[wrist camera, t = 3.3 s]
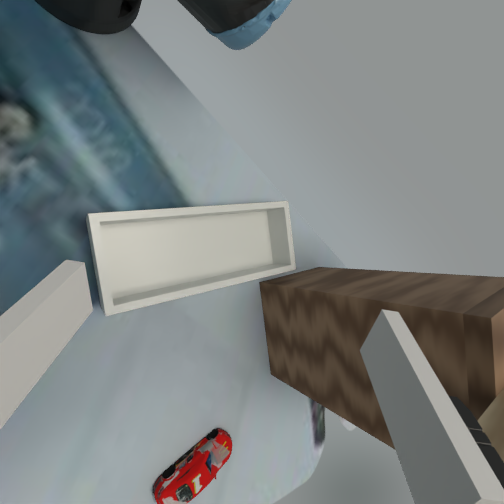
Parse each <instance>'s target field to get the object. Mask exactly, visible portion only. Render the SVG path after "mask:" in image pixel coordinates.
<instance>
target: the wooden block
mask: <svg viewBox="0 0 504 504" xmlns="http://www.w3.org/2000/svg"><path fill="white" fill-rule="evenodd" d="M259 283H260V291H261V298H262V306H263V314H264V322H265V330H266V338H267V346H268V354H269V362H270V370H271V375H273V376H275V377H276V378H278V379H279V380H281V381H283V382H284V383H286V384H288V385H289V386H291V387H293V388H294V389H296V390H298V391H299V392H301V393H303V394H304V395H306V396H308V397H309V398H311V399H312V400H314V401H316V402H317V403H319V404H321V405H322V406H324V407H326V408H328V409H329V410H331V411H332V412H334V413H336V414H337V415H339V416H341V417H342V418H344V419H346V420H347V421H349V422H350V423H352V424H354V425H355V426H357V427H359V428H360V429H362V430H364V431H365V432H367V433H369V434H370V435H372V436H374V437H375V438H377V439H379V440H380V441H382V442H384V443H385V444H387V445H388V446H390V447H392V448H393V449H395V447H394V444H393V441H392V439H391V436H390V433H389V430H388V428H387V425H386V422H385V419H384V416H383V414H382V411H381V408H380V405H379V402H378V400H377V397H376V394H375V391H374V389H373V386H372V383H371V380H370V377H369V375H368V372H367V369H366V366H365V363H364V361H363V358H362V355H361V352H360V349H361V347H362V345H363V343H364V342H365V340H366V338H367V336H368V334H369V332H370V330H371V329H372V327H373V325H374V323H375V321H376V319H377V318H378V316H379V314H380V312H381V310H382V309H383V310H389V311H396V312H399V314H400V315H401V317H402V319H403V320H404V322H405V324H406V326H407V327H408V329H409V331H410V332H411V334H412V336H413V337H414V339H415V341H416V342H417V344H418V346H419V347H420V349H421V351H422V352H423V354H424V356H425V358H426V359H427V361H428V363H429V364H430V366H431V368H432V369H433V371H434V373H435V374H436V376H437V378H438V379H439V381H440V383H441V384H442V386H443V388H444V389H445V391H446V393H447V395H448V396H454V397H458V398H459V399H460V400H461V401H462V402H463V404H464V405H465V406H466V407H467V408H468V409H469V410H470V411H471V412H472V413H473V415H474V416H475V418H476V420H477V421H478V419H479V418H480V417H481V416H482V414H483V413H484V412H485V411H486V409H487V408H488V407H489V406H490V404H491V403H492V402H493V401H494V399H495V398H496V397H497V396H498V394H499V393H500V392H501V391H502V389H503V388H504V277H487V276H470V275H452V274H451V275H450V274H434V273H432V274H431V273H416V272H398V271H397V272H396V271H379V270H362V269H344V268H326V267H318V268H314V269H310V270H306V271H302V272H298V273H294V274H290V275H286V276H282V277H279V278H275V279H271V280H267V281H263V282H259Z"/></svg>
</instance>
